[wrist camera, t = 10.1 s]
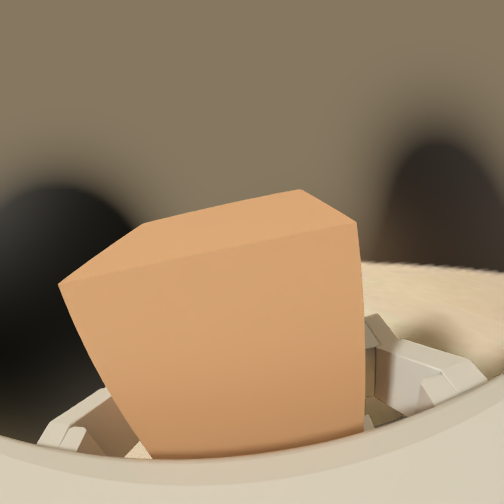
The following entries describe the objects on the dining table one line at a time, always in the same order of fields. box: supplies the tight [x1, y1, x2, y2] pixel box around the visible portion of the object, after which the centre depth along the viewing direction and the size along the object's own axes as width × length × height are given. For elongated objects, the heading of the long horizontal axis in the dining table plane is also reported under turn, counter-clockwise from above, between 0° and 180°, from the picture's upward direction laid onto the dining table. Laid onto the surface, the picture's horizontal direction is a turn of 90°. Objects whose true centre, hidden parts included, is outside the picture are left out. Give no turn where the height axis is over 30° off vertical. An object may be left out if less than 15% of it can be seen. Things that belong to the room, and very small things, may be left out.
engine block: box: [58, 189, 365, 459], centre depth 8 cm, size 5×5×10 cm
